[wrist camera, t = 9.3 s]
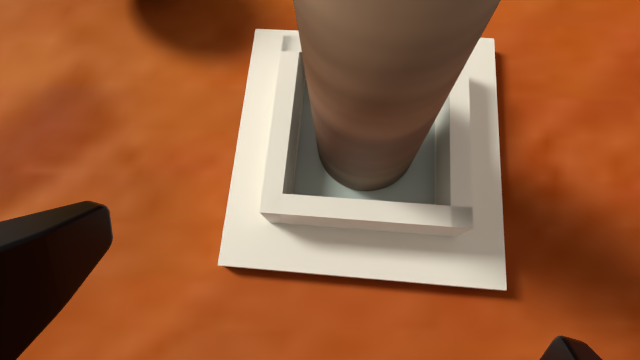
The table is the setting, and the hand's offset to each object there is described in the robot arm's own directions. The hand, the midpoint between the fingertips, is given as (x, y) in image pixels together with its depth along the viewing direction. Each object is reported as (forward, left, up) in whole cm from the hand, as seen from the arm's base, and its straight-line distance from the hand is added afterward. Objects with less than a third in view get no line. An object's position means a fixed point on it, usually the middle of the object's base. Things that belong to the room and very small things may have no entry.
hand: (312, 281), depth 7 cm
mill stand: (+7, -1, -9) cm, 12 cm away
